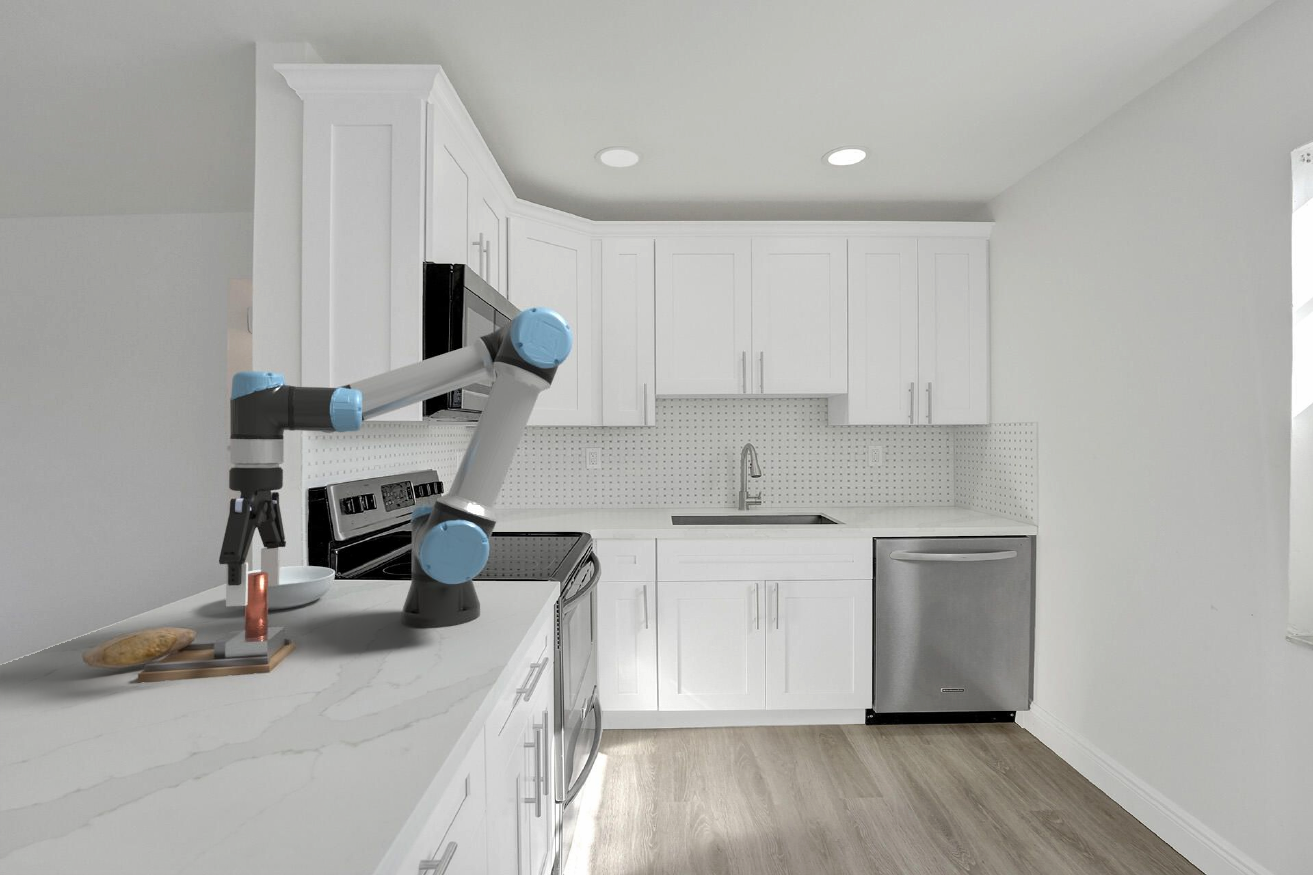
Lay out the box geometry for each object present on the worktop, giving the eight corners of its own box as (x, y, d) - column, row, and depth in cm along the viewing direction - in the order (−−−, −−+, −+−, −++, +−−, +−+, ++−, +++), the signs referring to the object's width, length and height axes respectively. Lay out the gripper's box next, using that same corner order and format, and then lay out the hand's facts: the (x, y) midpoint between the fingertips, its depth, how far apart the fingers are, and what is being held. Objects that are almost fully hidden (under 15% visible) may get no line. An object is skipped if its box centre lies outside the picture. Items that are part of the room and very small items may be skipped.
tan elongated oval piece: (192, 618, 107) (192, 618, 110) (78, 644, 98) (82, 644, 102) (197, 650, 106) (196, 649, 110) (83, 679, 98) (86, 677, 101)
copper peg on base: (284, 644, 111) (285, 568, 111) (267, 659, 103) (267, 578, 103) (233, 647, 109) (233, 570, 109) (211, 663, 101) (211, 580, 101)
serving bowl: (303, 618, 133) (303, 585, 133) (202, 618, 133) (202, 584, 133) (352, 594, 154) (352, 565, 154) (265, 593, 154) (265, 564, 154)
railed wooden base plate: (295, 650, 113) (295, 636, 113) (269, 675, 101) (269, 659, 101) (178, 657, 109) (178, 642, 109) (138, 683, 97) (138, 667, 97)
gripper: (261, 463, 118) (258, 579, 118) (194, 469, 93) (191, 616, 93) (305, 463, 119) (303, 578, 119) (251, 469, 95) (248, 614, 95)
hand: (254, 595), depth 106 cm, fingers open, 13 cm apart
